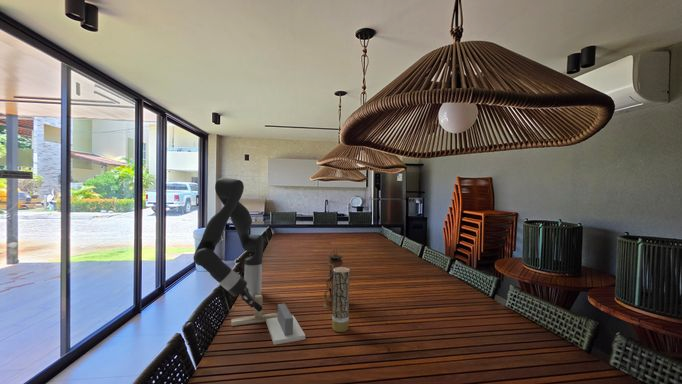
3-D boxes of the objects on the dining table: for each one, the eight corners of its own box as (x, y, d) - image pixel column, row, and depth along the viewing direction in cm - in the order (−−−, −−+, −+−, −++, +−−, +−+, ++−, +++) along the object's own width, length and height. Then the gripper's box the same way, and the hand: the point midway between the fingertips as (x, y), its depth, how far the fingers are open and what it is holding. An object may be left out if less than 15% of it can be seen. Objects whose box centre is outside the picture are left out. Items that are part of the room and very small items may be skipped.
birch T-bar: (231, 323, 120) (232, 297, 120) (282, 316, 129) (283, 292, 129) (231, 326, 117) (232, 300, 118) (283, 319, 126) (284, 294, 126)
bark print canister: (346, 333, 113) (348, 271, 113) (330, 331, 114) (331, 270, 115) (349, 326, 119) (350, 267, 120) (334, 324, 121) (335, 266, 121)
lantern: (345, 313, 133) (346, 250, 134) (319, 310, 136) (320, 248, 136) (350, 300, 150) (351, 244, 151) (327, 298, 152) (328, 243, 153)
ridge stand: (266, 322, 121) (266, 303, 122) (293, 318, 126) (293, 300, 126) (273, 344, 103) (274, 323, 103) (305, 339, 108) (305, 318, 108)
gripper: (240, 280, 114) (268, 305, 118) (239, 271, 127) (264, 294, 131) (226, 295, 112) (255, 319, 116) (226, 284, 125) (252, 307, 129)
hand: (259, 306), depth 123 cm, fingers open, 8 cm apart
